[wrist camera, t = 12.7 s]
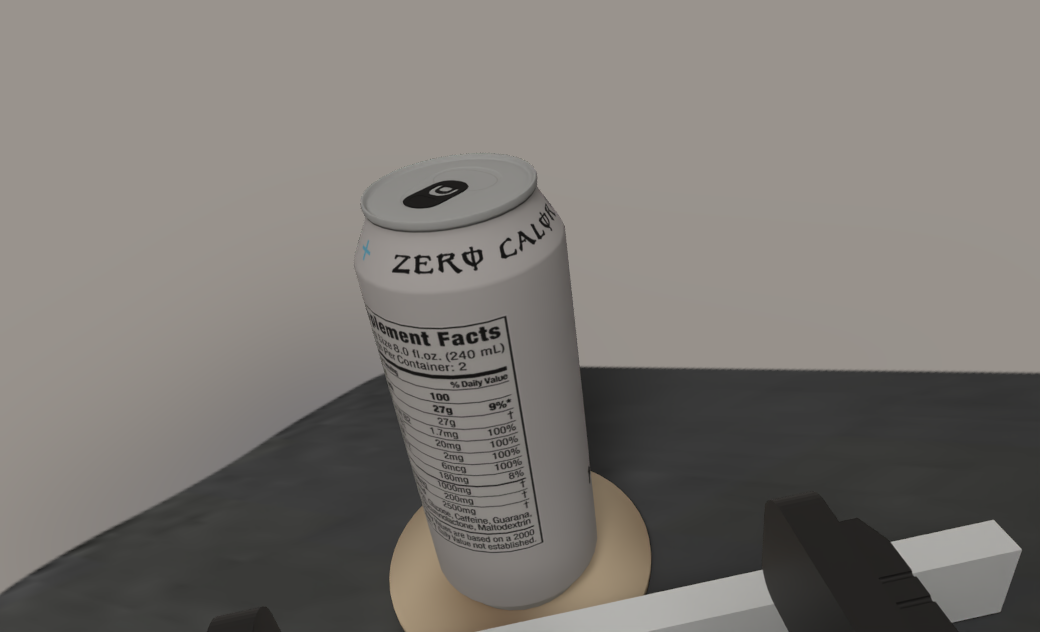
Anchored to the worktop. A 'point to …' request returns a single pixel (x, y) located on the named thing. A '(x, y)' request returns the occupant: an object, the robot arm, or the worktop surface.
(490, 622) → the cork coaster
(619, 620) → the white rectangular bar
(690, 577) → the worktop surface
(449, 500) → the energy drink can
